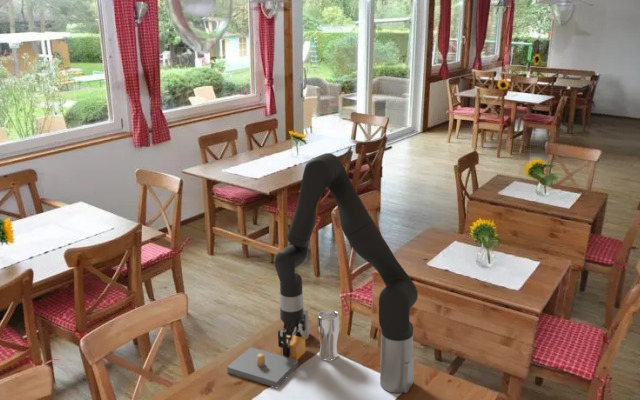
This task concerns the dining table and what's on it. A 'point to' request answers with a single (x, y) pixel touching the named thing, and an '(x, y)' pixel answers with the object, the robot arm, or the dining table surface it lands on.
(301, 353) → the matte orange cube
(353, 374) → the dining table surface
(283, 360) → the board
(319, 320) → the beer glass
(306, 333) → the grey cardboard box
